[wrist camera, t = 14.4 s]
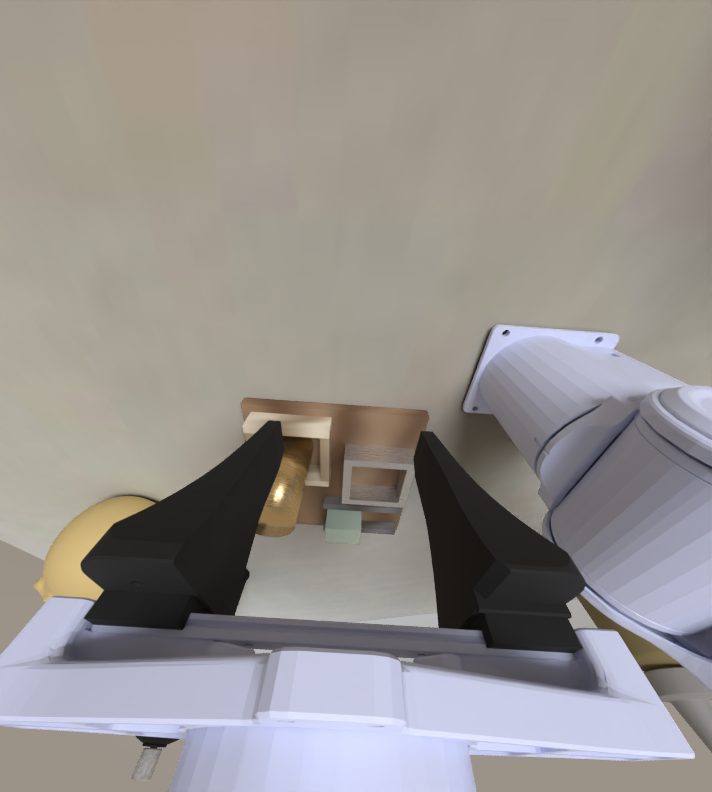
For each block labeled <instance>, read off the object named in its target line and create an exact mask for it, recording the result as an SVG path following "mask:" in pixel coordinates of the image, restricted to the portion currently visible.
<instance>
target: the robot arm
mask: <svg viewBox="0 0 712 792" xmlns="http://www.w3.org/2000/svg"><path fill="white" fill-rule="evenodd" d="M505 330H507V333H506V334H504V335H502V333H503V332H504V331H505ZM598 337H599V338H598ZM597 338H598V340H596V339H597ZM595 340H596V341H595ZM618 341H619V336H618V335H616V334H614V333H604V332H591V331H577V330H564V329H551V328H538V327H525V326H512V325H496V326H494V327H493V328H492V329H491V331H490V334H489V337H488V339H487V342H486V345H485V348H484V350H483V353H482V356H481V358H480V361H479V364H478V366H477V369H476V372H475V374H474V377H473V380H472V382H471V385H470V388H469V390H468V393H467V396H466V398H465V401H464V404H463V410H464V411H465V412H467V413H480V414H494V416H495V417H496V419H497V420H498V422H499V423H500V424H501V426H502V427H503V429H504V430H505V431H506V433H507V434H508V436H509V437H510V439H511V440H512V441H513V443H514V444H515V446H516V447H517V449H518V450H519V451H520V453H521V454H522V456H523V457H524V459H525V460H526V461H527V463H528V464H529V466H530V467H531V468H532V470H533V471H534V473H535V474H536V476H537V477H538V478H539V480H540V482H541V486H540V489H539V491H538V494H539V495H540V497H541V498H542V500H543V501H544V503H545V504H546V506H547V507H548V509H549V511H548V512H547V514H546V515H545V517H544V519H543V523H542V533H543V536H541V535H540V534H538V533H537V532H536V531H534V530H533V529H531V528H530V527H529V526H527V525H526V524H524V523H523V522H522V521H520V520H519V519H518V518H516V517H515V516H514V515H512V514H511V513H510V512H509V511H507V510H506V509H505V508H504V507H503V506H501V505H500V504H499V503H498V502H497V501H495V500H494V499H493V498H492V497H491V496H490V495H489V494H488V493H486V492H485V491H484V490H483V489H482V488H481V487H480V486H479V485H478V484H477V483H476V482H475V481H474V480H473V479H472V478H471V477H470V476H469V475H468V474H467V473H466V472H465V471H464V469H463V468H462V467H461V466H460V465H459V464H458V463H457V461H456V460H455V459H454V458H453V457H452V455H451V454H450V453H449V452H448V451H447V449H446V448H445V447H444V445H443V444H442V443H441V442H440V440H439V439H438V438H437V436H436V435H435V434H434V433H433V432H429V431H421V433H420V436H419V440H418V443H417V447H416V450H415V454H414V458H413V461H414V471H415V478H416V482H417V486H418V490H419V494H420V498H421V502H422V507H423V511H424V515H425V519H426V524H427V529H428V535H429V542H430V549H431V557H432V565H433V573H434V582H435V591H436V602H437V613H438V625H439V628H430V627H413V626H396V625H380V624H364V623H347V622H331V621H314V620H298V619H281V618H264V617H248V616H235V611H236V607H237V603H238V598H239V594H240V590H241V586H242V581H243V578H244V574H245V570H246V566H247V562H248V558H249V554H250V551H251V547H252V544H253V540H254V536H255V533H256V530H257V526H258V523H259V520H260V516H261V514H262V511H263V508H264V505H265V503H266V501H267V498H268V496H269V493H270V491H271V488H272V486H273V483H274V481H275V478H276V476H277V473H278V471H279V468H280V465H281V461H282V457H283V453H284V443H283V435H282V427H281V421H272V420H269V421H267V422H266V423H265V424H264V425H263V426H262V427H261V428H260V429H259V430H258V431H257V432H256V433H255V434H254V435H253V436H251V437H250V438H249V439H248V440H247V441H246V442H245V443H244V444H243V445H242V446H241V447H239V448H238V449H237V450H236V451H235V452H234V453H232V454H231V455H230V456H229V457H227V458H226V459H225V460H224V461H223V462H221V463H220V464H219V465H217V466H216V467H215V468H213V469H212V470H211V471H209V472H208V473H206V474H205V475H203V476H202V477H200V478H199V479H197V480H196V481H194V482H192V483H191V484H189V485H187V486H186V487H184V488H183V489H181V490H179V491H178V492H176V493H174V494H172V495H171V496H169V497H167V498H165V499H163V500H161V501H159V502H158V503H156V504H154V505H152V506H150V507H148V508H146V509H144V510H142V511H139V512H137V513H135V514H133V515H131V516H129V517H127V518H125V519H122V520H120V521H118V522H116V523H114V524H113V525H112V526H111V527H110V528H109V529H108V531H107V532H106V533H105V534H104V535H103V536H102V538H101V539H100V540H99V541H98V542H97V543H96V545H95V546H94V547H93V548H92V549H91V550H90V552H89V553H88V554H87V555H86V556H85V557H84V559H83V560H82V561H81V563H80V566H81V570H82V572H83V573H84V574H85V575H86V576H87V577H89V578H90V579H91V580H92V581H93V582H95V583H96V584H97V585H98V586H100V587H101V588H102V589H103V590H104V591H103V592H102V594H101V595H100V596H99V598H98V599H97V601H96V600H93V599H90V598H84V597H69V596H52V597H50V598H49V599H48V600H47V601H46V603H45V604H44V605H43V606H42V608H40V610H39V611H38V612H37V613H36V614H35V615H34V617H33V618H32V619H31V620H30V621H29V622H28V624H27V625H26V626H25V627H24V628H23V629H22V631H21V632H20V633H19V634H18V635H17V636H16V638H15V639H14V640H13V641H12V642H11V643H10V645H9V646H8V647H7V648H6V649H5V650H4V652H3V653H2V654H1V655H0V726H8V727H14V728H29V729H45V730H63V731H77V732H92V733H107V734H121V735H134V736H148V737H161V738H175V739H186V741H185V744H184V747H183V750H182V753H181V755H180V758H179V761H178V764H177V767H176V770H175V773H174V776H173V778H172V781H171V784H170V787H169V790H168V792H477V790H476V786H475V781H474V775H473V770H472V765H471V761H470V755H497V756H499V755H501V756H527V757H554V758H578V759H602V760H621V761H645V760H671V759H694V757H695V754H694V752H693V751H692V749H691V747H690V746H689V744H688V743H687V741H686V740H685V738H684V736H683V735H682V733H681V732H680V730H679V728H678V727H677V725H676V724H675V722H674V721H673V719H672V717H671V716H670V714H669V713H668V711H667V709H666V708H665V706H664V705H663V703H662V701H661V700H660V698H659V697H658V695H657V693H656V692H655V690H654V689H653V687H652V686H651V684H650V682H649V681H648V679H647V678H646V676H645V674H644V673H643V671H642V670H641V668H640V666H639V665H638V663H637V662H636V660H635V659H634V657H633V655H632V654H631V652H630V651H629V649H628V647H627V646H626V644H625V643H624V641H623V640H622V638H621V636H620V635H619V633H618V632H617V631H615V630H613V629H596V628H578V629H574V630H573V628H572V626H571V624H570V622H569V620H568V618H571V613H570V611H569V609H568V607H567V605H566V603H567V602H569V601H570V600H572V599H573V598H575V597H576V596H578V595H579V594H581V595H582V596H583V597H584V598H585V599H586V600H587V601H588V602H589V603H590V604H591V605H593V606H594V607H595V608H596V609H598V610H599V611H600V612H601V613H603V614H604V615H605V616H607V617H608V618H610V619H611V620H613V621H614V622H615V623H617V624H618V625H620V626H622V627H624V628H625V629H627V630H629V631H631V632H633V633H634V634H636V635H638V636H640V637H642V638H643V639H645V640H647V641H649V642H650V643H652V644H653V645H655V646H656V647H658V648H659V649H661V650H662V651H664V652H665V653H666V654H668V655H669V656H670V657H672V658H673V659H674V660H676V661H677V662H678V663H679V664H680V665H682V666H683V667H684V668H685V669H686V670H687V671H689V672H690V673H691V674H692V675H693V676H694V677H696V678H697V679H698V680H699V681H700V682H701V683H702V684H703V685H704V686H706V687H707V688H708V689H709V690H710V691H711V692H712V387H709V386H690V385H688V384H686V383H684V382H682V381H679V380H677V379H675V378H673V377H671V376H669V375H667V374H665V373H663V372H661V371H658V370H656V369H654V368H652V367H650V366H648V365H646V364H644V363H642V362H639V361H637V360H635V359H633V358H631V357H629V356H627V355H625V354H623V353H620V352H618V351H616V350H614V349H613V348H614V347H615V346H616V344H617V343H618ZM473 407H476V408H474V409H472V408H473ZM253 649H266V650H273V651H272V652H271V653H262V654H255V652H254V650H253ZM397 657H403V658H415V659H414V661H413V662H414V663H411V662H405V661H400V660H399V659H398V658H397Z"/></svg>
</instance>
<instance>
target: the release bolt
mask: <svg viewBox="0 0 712 792" xmlns="http://www.w3.org/2000/svg"><path fill="white" fill-rule="evenodd" d="M360 535H361V511H348V510H333V509H328V510H327V518H326V525H325V542H330V543H346V544H359V542H360Z"/></svg>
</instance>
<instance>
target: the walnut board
mask: <svg viewBox="0 0 712 792" xmlns="http://www.w3.org/2000/svg"><path fill="white" fill-rule="evenodd" d="M241 408H242V413H243V417H244V421H245V420H246V419H247V417H248V416H249V414H250V412H263V413H277V414H291V415H305V416H320V417H332V437H331V474H330V481H329V487H323V486H308V485H305V487H304V491H303V496H302V500H301V504H300V508H299V512H298V516H297V521H296V523H298V524H313V525H324V530H325V525H326V518H327V510H328V509H333V510H348V511H361V532H363V533H378V534H394V533H395V530H397V526H398V523H399V519H400V516H401V512H402V509H403V508H400V507H385V506H370V505H355V504H342V488H343V471H344V456H345V445H360V446H375V447H389V448H403V449H414V453H415V450H416V447H417V443H418V440H419V436H420V433H421V431H425V430H426V426H427V423H428V420H429V415H428V412H427V411H425V410H411V409H397V408H383V407H369V406H355V405H341V404H327V403H312V402H298V401H284V400H270V399H256V398H244V400H243V401H242V403H241ZM311 439H312V441H313V443H314V450H313V454H312V458H311V462H310V465H320V438H311ZM399 474H400V470H398V469H384V468H369V467H354V466H352V475H351V484H363V485H378V486H392V487H396V486H397V482H398V478H399Z"/></svg>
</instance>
